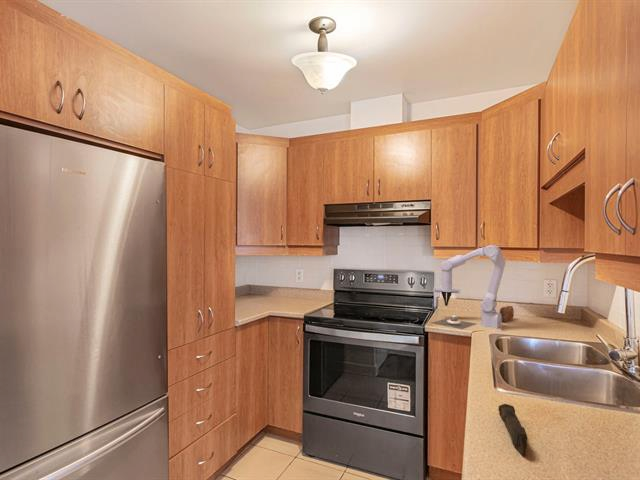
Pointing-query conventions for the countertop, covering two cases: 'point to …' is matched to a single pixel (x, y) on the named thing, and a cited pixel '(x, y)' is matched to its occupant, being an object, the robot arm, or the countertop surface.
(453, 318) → the dial
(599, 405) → the countertop surface
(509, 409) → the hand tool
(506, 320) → the brown slab
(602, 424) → the countertop surface
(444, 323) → the dial plate
